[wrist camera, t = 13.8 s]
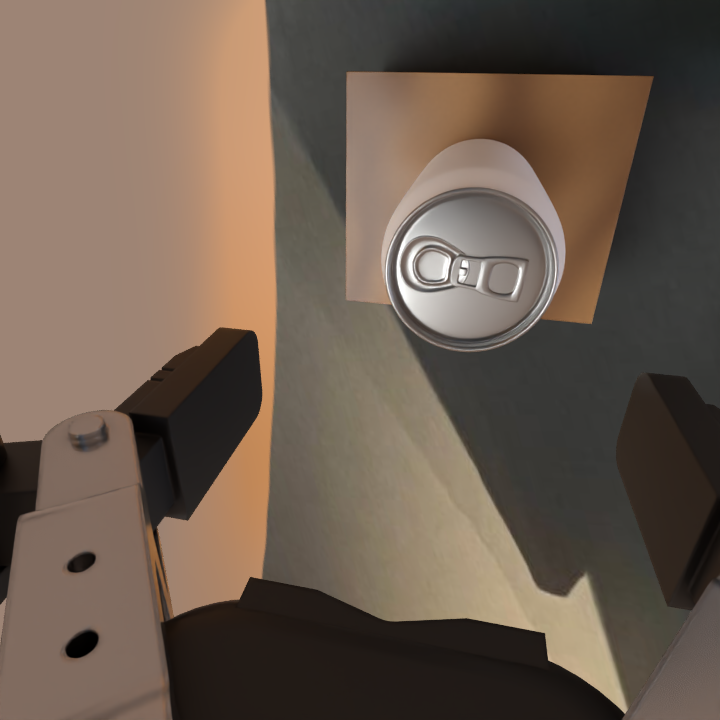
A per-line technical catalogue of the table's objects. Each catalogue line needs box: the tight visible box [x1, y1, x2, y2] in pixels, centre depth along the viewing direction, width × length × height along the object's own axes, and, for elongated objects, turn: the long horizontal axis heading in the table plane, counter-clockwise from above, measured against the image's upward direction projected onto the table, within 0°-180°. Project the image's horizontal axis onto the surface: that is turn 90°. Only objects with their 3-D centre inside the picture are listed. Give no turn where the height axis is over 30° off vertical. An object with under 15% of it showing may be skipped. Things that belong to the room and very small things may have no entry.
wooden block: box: [346, 71, 654, 324], centre depth 31 cm, size 14×12×8 cm
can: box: [381, 139, 565, 352], centre depth 22 cm, size 6×6×12 cm
